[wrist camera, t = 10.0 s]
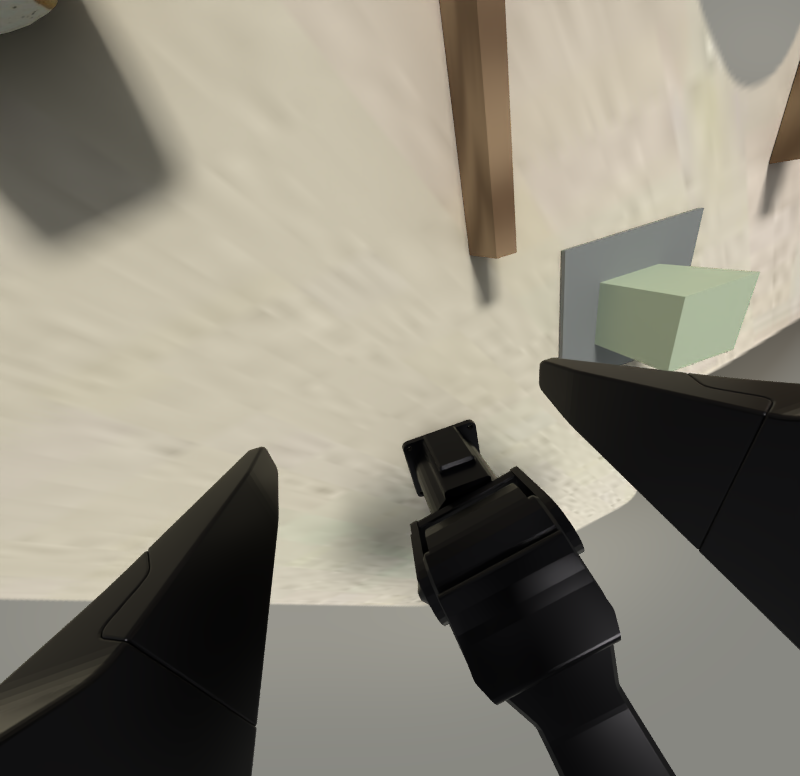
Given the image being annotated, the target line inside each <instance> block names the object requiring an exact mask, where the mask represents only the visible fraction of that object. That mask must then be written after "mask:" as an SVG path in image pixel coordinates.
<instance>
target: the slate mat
mask: <svg viewBox="0 0 800 776" xmlns="http://www.w3.org/2000/svg"><path fill="white" fill-rule="evenodd" d="M703 209H704V208H697V209H694V210H690V211H687V212H684V213H681V214H678V215H674V216H671V217H668V218H665V219H662V220H658V221H655V222H652V223H649V224H646V225H642V226H639V227H636V228H633V229H629V230H626V231H623V232H620V233H617V234H613V235H610V236H607V237H604V238H601V239H597V240H594V241H591V242H588V243H585V244H581V245H578V246H575V247H572V248H569V249H565V250H562V251H561V291H560V335H559V358H562V359H571V360H579V361H588V362H597V363H605V364H614V365H622V364H625V363H628V362H631V361H634V359H631V358H629V357H626V356H624V355H621V354H619V353H616V352H614V351H611V350H608V349H606V348H603V347H601V346H598V345H596V344H595V334H596V323H597V312H598V301H599V289H600V283H601V282H604V281H607V280H610V279H613V278H616V277H619V276H622V275H625V274H629V273H632V272H635V271H638V270H641V269H644V268H647V267H650V266H654V265H657V264H668V265H680V266H691V262H692V257H693V253H694V249H695V244H696V240H697V236H698V231H699V227H700V222H701V218H702V214H703Z"/></svg>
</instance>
